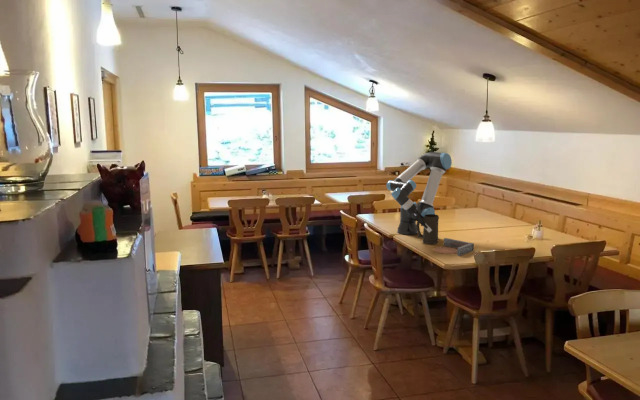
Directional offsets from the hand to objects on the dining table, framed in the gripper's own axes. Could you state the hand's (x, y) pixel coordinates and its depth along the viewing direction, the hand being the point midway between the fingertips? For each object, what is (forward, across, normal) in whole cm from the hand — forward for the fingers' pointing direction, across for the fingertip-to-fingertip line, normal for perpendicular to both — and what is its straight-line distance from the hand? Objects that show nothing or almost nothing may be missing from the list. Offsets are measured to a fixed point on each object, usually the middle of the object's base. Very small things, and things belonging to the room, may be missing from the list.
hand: (430, 229), depth 352 cm
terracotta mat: (+14, +18, 0) cm, 23 cm away
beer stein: (+6, 0, -8) cm, 10 cm away
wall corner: (+17, +16, +3) cm, 24 cm away
